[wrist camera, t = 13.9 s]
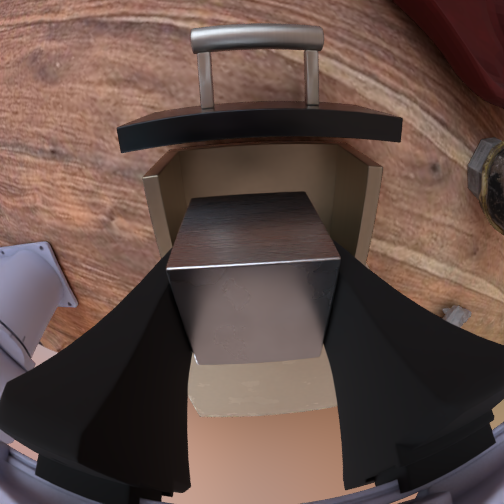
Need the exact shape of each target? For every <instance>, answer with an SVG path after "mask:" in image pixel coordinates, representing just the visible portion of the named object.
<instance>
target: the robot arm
mask: <svg viewBox="0 0 504 504" xmlns="http://www.w3.org/2000/svg"><path fill="white" fill-rule="evenodd" d="M331 239H332V238H331ZM332 241H333V243H334V245H335V247H336V249H337V251H338V253H339V255H340V257H341V260H340V266H339V272H338V277H337V282H336V288H335V293H334V298H333V303H332V307H331V312H330V317H329V321H328V326H327V330H326V334H325V338H324V342H323V344H324V347H325V350H326V354H327V357H328V360H329V363H330V367H331V371H332V376H333V381H334V387H335V393H336V399H337V406H338V413H339V421H340V430H341V441H342V454H343V455H342V457H343V481H344V487H345V490H348V489H352V488H357V487H360V486H364V485H367V484H371V483H374V482H375V485H376V487H373V488H370V489H367V490H364V491H360V492H356V493H353V494H348V495H344V496H340V497H335V498H330V499H325V500H320V501H315V502H309V503H302V504H390V503H392V502H395V501H398V500H400V499H403V498H405V497H408V496H410V495H412V494H415V493H417V492H418V494H417V496H416V498H415V499H412V500H409V501H405V502H402V503H398V504H504V422H503V423H501V424H500V425H499V426H497V427H496V428H494V429H493V430H492V429H491V426H490V424H489V423H490V422H491V421H493V420H494V415H493V412H492V410H491V409H493V408H494V407H495V406H496V405H497V404H498V403H500V402H501V401H502V400H503V399H504V345H501V344H498V343H496V342H493V341H490V340H487V339H484V338H482V337H479V336H477V335H475V334H473V333H471V332H468V331H466V330H464V329H462V328H460V327H458V326H456V325H454V324H452V323H450V322H448V321H446V320H444V319H442V318H440V317H439V316H437V315H435V314H433V313H431V312H430V311H428V310H426V309H425V308H423V307H421V306H420V305H418V304H417V303H415V302H414V301H412V300H411V299H409V298H407V297H406V296H404V295H403V294H401V293H400V292H399V291H397V290H396V289H394V288H393V287H392V286H390V285H389V284H388V283H386V282H385V281H384V280H382V279H381V278H380V277H378V276H377V275H376V274H375V273H373V272H372V271H371V270H369V269H368V268H367V267H366V266H365V265H363V264H362V263H361V262H360V261H359V260H357V259H356V258H355V257H354V256H353V255H351V254H350V253H349V252H348V251H347V250H345V249H344V248H343V247H342V246H341V245H339V244H338V243H337V242H336V241H334V240H333V239H332ZM172 248H173V247H172ZM172 248H171V249H170V250H169V251H168V252H167V253H166V254H165V256H164V257H163V258H162V259H161V260H160V261H159V262H158V263H157V264H156V265H155V267H154V268H153V269H152V270H151V271H150V272H149V273H148V274H147V275H146V276H145V278H144V279H143V280H142V281H141V282H140V283H139V284H138V285H137V286H136V287H135V288H134V289H133V290H132V291H131V292H130V293H129V294H128V295H127V296H126V297H125V298H124V299H123V300H122V301H121V302H120V303H119V304H118V305H117V306H116V307H115V308H114V309H113V310H112V311H111V312H110V313H109V314H108V315H106V316H105V317H104V318H103V319H102V320H101V321H99V322H98V323H97V324H96V325H95V326H94V327H92V328H91V329H90V330H89V331H87V332H86V333H85V334H83V335H82V336H81V337H79V338H78V339H77V340H75V341H74V342H73V343H72V344H70V345H69V346H68V347H66V348H65V349H63V350H62V351H60V352H59V353H57V354H56V355H54V356H53V357H51V358H50V359H48V360H46V361H45V362H43V363H42V364H40V365H38V366H37V367H35V368H34V366H35V362H34V361H33V360H32V359H31V358H32V356H33V353H34V351H35V349H36V347H37V345H38V343H39V341H40V339H41V337H42V335H43V333H44V331H45V329H46V327H47V325H48V323H49V321H50V319H51V317H52V316H53V314H54V312H55V310H56V308H57V307H77V305H78V302H77V300H76V298H75V296H74V294H73V292H72V290H71V289H70V287H69V285H68V283H67V281H66V279H65V277H64V275H63V273H62V270H61V268H60V266H59V264H58V262H57V260H56V257H55V255H54V253H53V251H52V248H51V246H50V244H49V243H48V242H46V241H44V242H36V243H28V244H21V245H13V246H6V247H0V504H172V503H165V502H161V497H162V496H169V497H172V496H173V492H178V493H183V492H185V491H186V490H188V489H189V488H190V487H191V483H190V473H189V461H188V443H187V442H188V440H187V398H188V380H189V371H190V365H191V359H192V353H193V352H192V349H191V346H190V343H189V341H188V338H187V335H186V332H185V329H184V326H183V323H182V320H181V317H180V314H179V311H178V308H177V305H176V302H175V299H174V295H173V292H172V289H171V286H170V282H169V279H168V275H167V272H166V266H167V263H168V260H169V257H170V254H171V251H172ZM14 439H15V440H16V441H18V442H20V443H21V444H23V445H24V446H26V447H28V448H29V449H31V450H33V451H34V452H36V453H38V454H39V455H38V460H37V461H35V460H33V459H31V458H29V457H27V456H26V455H24V454H22V453H20V452H18V451H17V450H15V449H13V448H11V447H10V446H9V445H7V444H9V443H12V442H13V441H14Z"/></svg>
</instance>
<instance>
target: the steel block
mask: <svg viewBox="0 0 504 504" xmlns="http://www.w3.org/2000/svg"><path fill="white" fill-rule="evenodd" d="M340 260H341V257H340V255H339V253H338V251H337V249H336V247H335V245H334V243H333V241H332V239H331V238H330V236H329V234H328V232H327V230H326V228H325V226H324V224H323V222H322V221H321V219H320V217H319V215H318V213H317V211H316V210H315V208H314V206H313V204H312V202H311V201H310V199H309V197H308V195H307V193H306V192H304V191H300V192H274V193H254V194H238V195H224V196H211V197H199V198H191V200H190V202H189V205H188V207H187V210H186V213H185V215H184V218H183V221H182V223H181V226H180V229H179V232H178V234H177V237H176V240H175V243H174V246H173V248H172V251H171V254H170V257H169V260H168V263H167V266H166V272H167V275H168V279H169V282H170V286H171V289H172V292H173V295H174V299H175V302H176V305H177V308H178V311H179V314H180V317H181V320H182V323H183V326H184V329H185V332H186V335H187V338H188V341H189V343H190V346H191V349H192V352H193V354H194V357H195V360H196V362H197V364H198V365H224V364H248V363H264V362H277V361H288V360H298V359H307V358H315V357H320V354H321V350H322V346H323V342H324V338H325V334H326V330H327V326H328V321H329V317H330V312H331V307H332V303H333V298H334V293H335V288H336V282H337V277H338V272H339V266H340Z"/></svg>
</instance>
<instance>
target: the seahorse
mask: <svg viewBox="0 0 504 504" xmlns="http://www.w3.org/2000/svg"><path fill="white" fill-rule="evenodd" d="M442 311H443V312H444V313H445V316H444V317H443V318H442V319H444V320H446V321H448V322H450V323H452V324H454V325H456V326H458V327H461V326H462V325H463V323H465V322H466V321H467V320H468V318H469V317H471V311H469V310H468V309H466V308H462V307H459V306H456V305H453V306H452V307H451V308H443V309H442Z"/></svg>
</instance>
